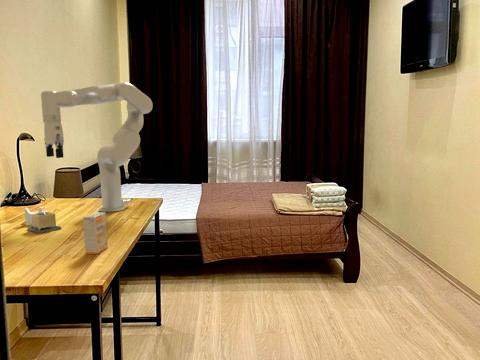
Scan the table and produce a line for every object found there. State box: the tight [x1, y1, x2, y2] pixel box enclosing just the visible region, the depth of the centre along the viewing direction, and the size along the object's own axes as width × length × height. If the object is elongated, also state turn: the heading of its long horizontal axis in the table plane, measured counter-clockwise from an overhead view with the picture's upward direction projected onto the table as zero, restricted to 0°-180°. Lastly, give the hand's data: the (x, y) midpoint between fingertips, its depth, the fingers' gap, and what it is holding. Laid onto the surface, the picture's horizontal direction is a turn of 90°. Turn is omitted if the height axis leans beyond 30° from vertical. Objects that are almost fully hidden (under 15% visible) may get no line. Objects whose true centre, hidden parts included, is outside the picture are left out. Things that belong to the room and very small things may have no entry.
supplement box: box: [82, 211, 109, 255], centre depth 168 cm, size 8×5×13 cm, turn 170°
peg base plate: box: [27, 212, 62, 235], centre depth 202 cm, size 10×10×7 cm
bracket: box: [23, 206, 49, 226], centre depth 217 cm, size 13×7×8 cm, turn 11°
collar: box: [31, 211, 57, 229], centre depth 202 cm, size 7×7×5 cm
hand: (55, 157), depth 219 cm, fingers open, 9 cm apart
